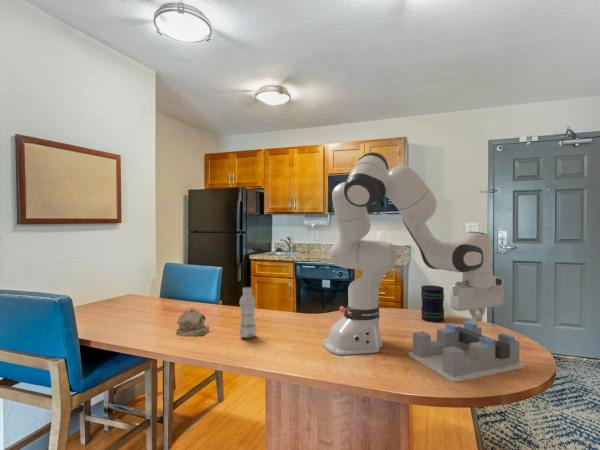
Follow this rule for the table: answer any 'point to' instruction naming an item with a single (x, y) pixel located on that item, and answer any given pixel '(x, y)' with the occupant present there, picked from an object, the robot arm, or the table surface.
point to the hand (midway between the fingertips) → (477, 321)
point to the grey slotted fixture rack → (463, 353)
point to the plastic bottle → (247, 313)
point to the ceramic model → (192, 324)
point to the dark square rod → (471, 337)
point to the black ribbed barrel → (432, 303)
